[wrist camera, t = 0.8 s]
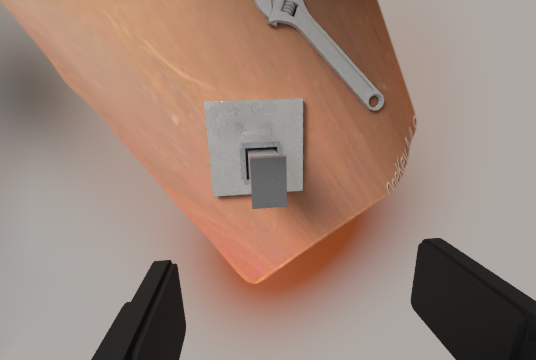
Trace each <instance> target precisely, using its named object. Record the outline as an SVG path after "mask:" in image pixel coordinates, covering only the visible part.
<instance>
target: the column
mask: <svg viewBox="0 0 536 360" xmlns="http://www.w3.org/2000/svg"><path fill="white" fill-rule="evenodd" d="M247 162H248V171H249V179H250V187H251V196H252V208H253V209H259V208H273V207H287V167H286V156H285V155H279V154H278V153H277V152H276V151H275V149H274V148H273V147H263V148H247Z"/></svg>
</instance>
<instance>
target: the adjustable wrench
mask: <svg viewBox="0 0 536 360" xmlns="http://www.w3.org/2000/svg"><path fill="white" fill-rule="evenodd" d="M254 3H255V5H256V7H257V9H258V10H259V12H260V13H261V14H262V15H263V16H264V17H265V18H266V19H267V20H269V21H268V24H271V25H273V26H277V23H283V24H288V25H290V26H292V27H294V28H295V29H297V30H298V31H299V32H300V33H301V34H302V36H303V37H304V38H305V39H306V40H307V41H308V42H309V44H310V45H311V46H312V47H313V48H314V49H315V50H316V51H317V53H318V54H319V55H320V56H321V57H322V58H323V59H324V61H325V62H326V63H327V64H328V65H329V66H330V67H331V68H332V70H333V71H334V72H335V73H336V74H337V75H338V76H339V78H340V79H341V80H342V81H343V82H344V83H345V84H346V85H347V87H348V88H349V89H350V90H351V91H352V92H353V93H354V95H355V96H356V97H357V98H358V99H359V100H360V101H361V102H362V104H363V105H364V106H365V107H366V108H367V109H368V110H378V109H380V108H381V107H382V106H383V104H384V97H383V95H382V94H381V93H380V92H379V91H378V90H377V89H376V87H375V86H374V85H373V84H372V83H371V82H370V81H369V80H368V79H367V77H366V76H365V75H364V74H363V73H362V72H361V71H360V70H359V69H358V67H357V66H356V65H355V64H354V63H353V62H352V61H351V60H350V59H349V58H348V56H347V55H346V54H345V53H344V52H343V51H342V50H341V49H340V48H339V46H338V45H337V44H336V43H335V42H334V41H333V40H332V39H331V38H330V36H329V35H328V34H327V33H326V32H325V31H324V30H323V29H322V28H321V26H320V25H319V24H318V23H317V22H316V21H315V20H314V19H313V18H312V16H311V15H310V14H309V12H308V10H307V8H306V6H305V4H304V1H303V0H254ZM294 6H295V7H297V8H296V11H295V14H294V17H293V16H292V15H293V12H294V9H295V7H294ZM269 17H270V18H269ZM372 96H376V97H378V104H377V106H375V107H371V106H370V105H369V99H370V97H372Z"/></svg>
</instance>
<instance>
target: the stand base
mask: <svg viewBox="0 0 536 360" xmlns="http://www.w3.org/2000/svg"><path fill="white" fill-rule="evenodd" d="M204 106H205V116H206V126H207V136H208V146H209V157H210V167H211V177H212V187H213V197H214V196H229V195H245V194H251V187H250V179H249V171H248V162H247V148H263V147H273V148H274V149H275V151H276V152H277V153H278V154H279V155H285V156H286V167H287V192H291V191H303V98H297V99H268V100H239V101H210V102H204Z"/></svg>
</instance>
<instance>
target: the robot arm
mask: <svg viewBox="0 0 536 360" xmlns="http://www.w3.org/2000/svg"><path fill="white" fill-rule="evenodd" d="M411 304H412V307H413V309H414V311H415V312H416V313H417V314H418V315H419V317H420V318H421V319H422V320H423V321H424V322H425V324H426V325H427V326H428V327H429V328H430V329H431V331H432V332H433V333H434V334H435V335H436V337H437V338H438V339H439V340H440V341H441V343H442V344H443V345H444V346H445V347H446V348H447V350H448V351H449V352H450V353H451V354H452V356H453V357H454V358H455V359H456V360H536V301H535V300H533V299H532V298H530V297H529V296H527V295H526V294H524V293H523V292H521V291H520V290H518V289H516V288H515V287H514V286H512V285H510V284H509V283H508V282H506V281H504V280H503V279H502V278H500V277H499V276H497V275H495V274H494V273H493V272H491V271H489V270H488V269H486V268H485V267H483V266H482V265H480V264H479V263H477V262H476V261H474V260H473V259H471V258H470V257H468V256H467V255H465V254H464V253H462V252H461V251H459V250H458V249H456V248H455V247H453V246H452V245H450V244H449V243H447V242H446V241H444V240H443V239H441V238H433V239H424V240H423V241H422V243H420V244H419V246H418V252H417V259H416V266H415V274H414V280H413V287H412V295H411ZM185 332H186V321H185V314H184V308H183V301H182V294H181V287H180V280H179V273H178V267H177V264H172V262H171V260H164V261H154V262H153V263H152V265H151V267H150V269H149V271H148V272H147V274H146V276H145V278H144V280H143V281H142V283H141V285H140V287H139V288H138V290H137V292H136V294H135V296H134V297H133V299H132V301H131V302H127V303H125V304H124V306H123V307H122V308H121V310H120V312H119V314H118V316H117V317H116V319H115V320H114V322H113V324H112V325H111V327H110V329H109V331H108V332H107V334H106V336H105V337H104V339H103V341H102V343H101V344H100V346H99V348H98V349H97V351H96V353H95V354H94V356H93V358H92V359H91V360H179V358H180V354H181V350H182V345H183V341H184V337H185Z"/></svg>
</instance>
